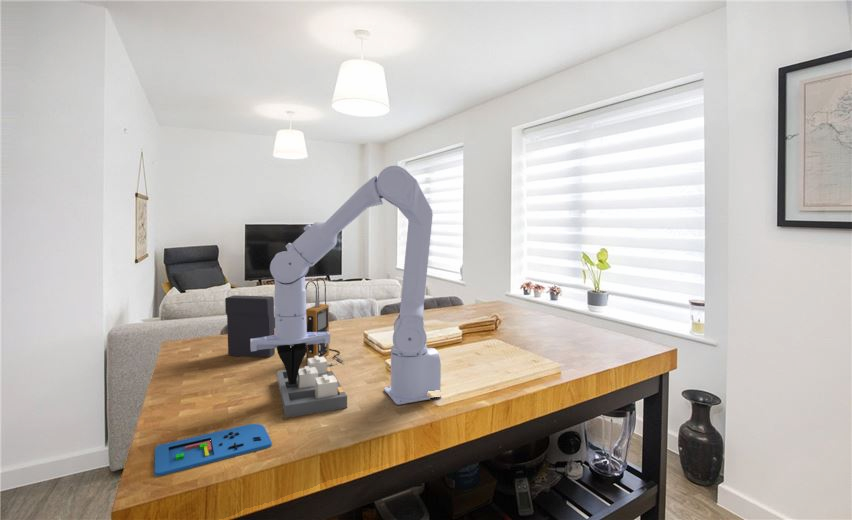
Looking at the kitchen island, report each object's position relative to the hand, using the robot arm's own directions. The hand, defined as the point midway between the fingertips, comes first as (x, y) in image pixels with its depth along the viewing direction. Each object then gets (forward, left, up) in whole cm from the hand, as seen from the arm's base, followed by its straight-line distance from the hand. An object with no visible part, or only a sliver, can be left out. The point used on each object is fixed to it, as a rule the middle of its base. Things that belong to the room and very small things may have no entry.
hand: (292, 382), depth 81 cm
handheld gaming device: (+13, +15, -3) cm, 20 cm away
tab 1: (-3, 0, -2) cm, 3 cm away
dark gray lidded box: (+7, -30, -3) cm, 31 cm away
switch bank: (-3, 0, -3) cm, 4 cm away
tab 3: (-5, +6, -2) cm, 8 cm away
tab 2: (-6, -6, -2) cm, 8 cm away
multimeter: (-11, -19, -3) cm, 22 cm away
